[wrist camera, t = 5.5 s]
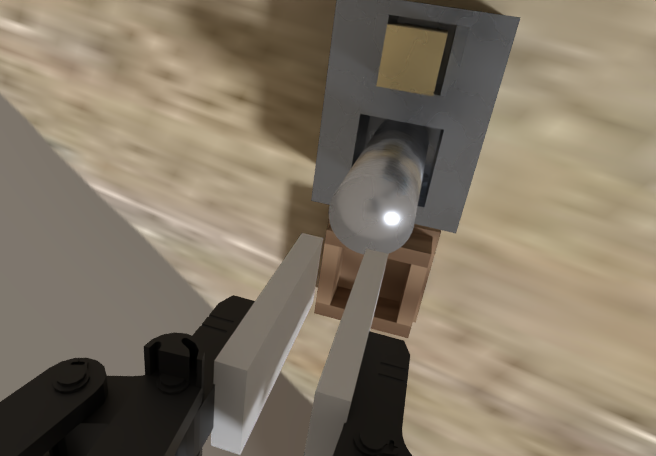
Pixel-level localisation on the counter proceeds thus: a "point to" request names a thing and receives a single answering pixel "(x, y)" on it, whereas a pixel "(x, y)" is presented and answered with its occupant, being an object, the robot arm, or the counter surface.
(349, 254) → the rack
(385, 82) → the tan rectangular block
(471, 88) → the chuck block
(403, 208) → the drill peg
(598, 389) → the counter surface
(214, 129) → the counter surface
